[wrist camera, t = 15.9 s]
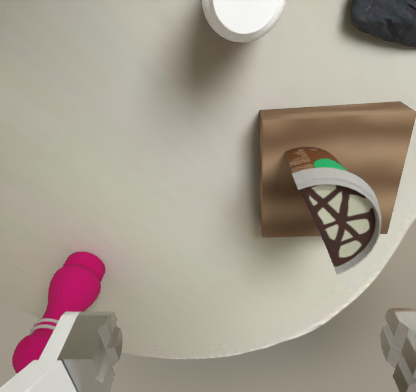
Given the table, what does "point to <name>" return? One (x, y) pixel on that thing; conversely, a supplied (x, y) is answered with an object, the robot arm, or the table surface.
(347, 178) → the food container
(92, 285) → the pepper mill
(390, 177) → the walnut base
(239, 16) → the supplement bottle
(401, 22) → the folded dark cloth
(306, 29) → the table surface
